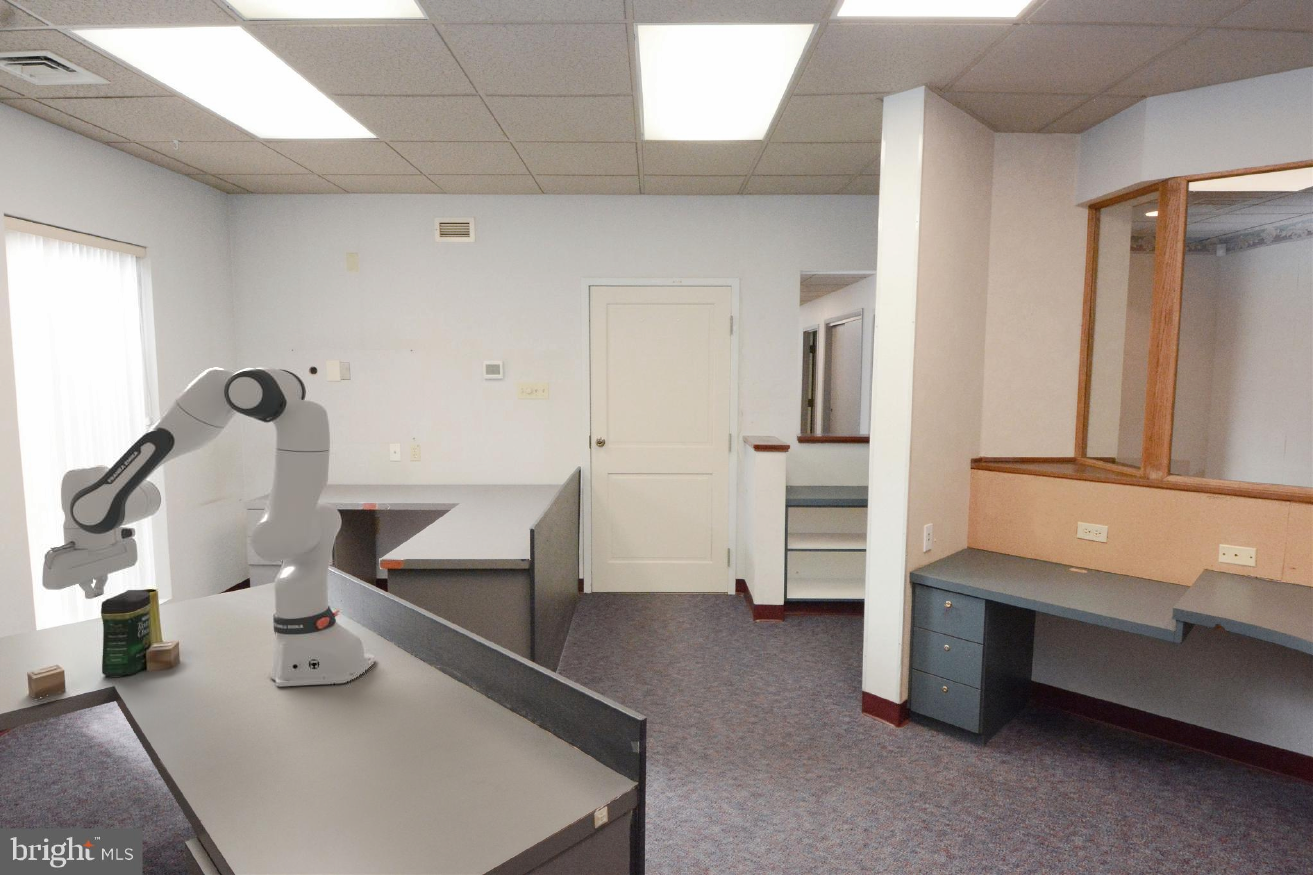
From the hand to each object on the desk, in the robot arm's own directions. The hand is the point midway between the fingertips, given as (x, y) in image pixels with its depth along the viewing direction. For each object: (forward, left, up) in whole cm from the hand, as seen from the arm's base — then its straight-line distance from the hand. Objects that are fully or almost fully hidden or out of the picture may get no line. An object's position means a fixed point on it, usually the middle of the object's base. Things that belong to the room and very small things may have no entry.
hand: (94, 596), depth 149 cm
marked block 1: (+5, +7, -19) cm, 21 cm away
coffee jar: (-2, -5, -19) cm, 20 cm away
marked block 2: (-9, -8, -19) cm, 23 cm away
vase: (+5, -19, -20) cm, 28 cm away
